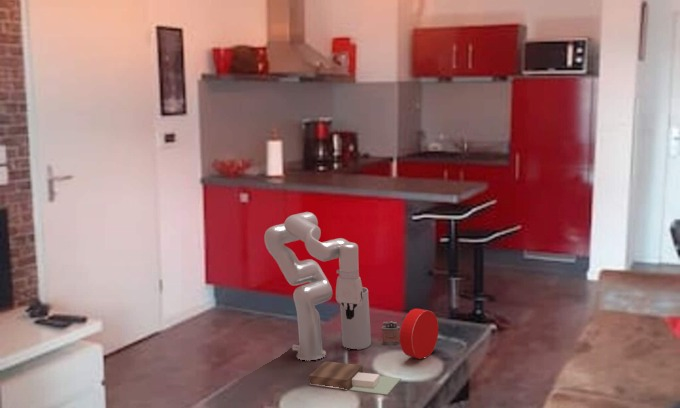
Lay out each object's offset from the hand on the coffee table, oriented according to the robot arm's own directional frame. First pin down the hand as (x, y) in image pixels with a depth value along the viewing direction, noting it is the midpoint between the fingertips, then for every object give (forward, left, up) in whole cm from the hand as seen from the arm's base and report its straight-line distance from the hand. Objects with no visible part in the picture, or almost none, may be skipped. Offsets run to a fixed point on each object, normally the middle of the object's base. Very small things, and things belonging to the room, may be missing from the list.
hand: (350, 318), depth 291 cm
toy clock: (+21, +23, -23) cm, 38 cm away
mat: (+13, -9, -22) cm, 28 cm away
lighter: (+4, +34, -23) cm, 41 cm away
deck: (-3, -9, -22) cm, 25 cm away
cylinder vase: (-10, +28, -23) cm, 37 cm away
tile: (+10, -10, -21) cm, 25 cm away
